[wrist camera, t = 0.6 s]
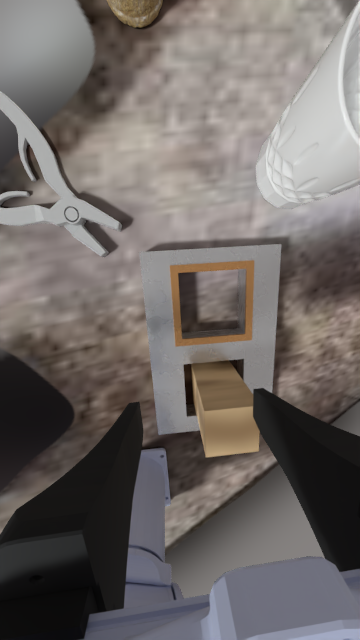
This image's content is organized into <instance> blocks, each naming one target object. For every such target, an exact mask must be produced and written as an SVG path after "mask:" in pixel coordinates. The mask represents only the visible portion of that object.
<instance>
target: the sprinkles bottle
mask: <svg viewBox="0 0 360 640" xmlns="http://www.w3.org/2000/svg"><path fill="white" fill-rule="evenodd" d="M107 2H108V5H109V6H110V7H111V9H112V11H113V12H114V14H115V15H116V16H117V17H118V19H119V20H120V21H122V22H123V23H124V24H127V25H129V26H132V27H134V28H136V27H140V28H141V27H144V26H147V25H149V24H150V23H151V22H152V21H153V20H154V19H155V18H156V17H157V15H158V13H159V10H160V9H161V6H162V2H163V0H107Z"/></svg>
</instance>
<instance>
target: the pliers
mask: <svg viewBox="0 0 360 640" xmlns="http://www.w3.org/2000/svg"><path fill="white" fill-rule="evenodd" d="M0 109H1V110H2V111H3V112H4V113H5V114H6V115H7V116H8V118H9V119H10V120H11V121H12V122H13V123H14V124H15V126H16V127H17V132H18V141H19V142H18V146H19V152H20V157H21V161H22V163H23V165H24V167H25V169H26V171H27V173H28V175H29V177H30V178H31V180H32V181H33V182H36V181H37V180H36V178H35V177H34V175H33V173H32V171H31V169H30V166H29V164H28V160H27V154H26V148H27V143H29V144H30V146H31V147H32V149H33V151H34V154H35V156H36V158H37V161H38V163H39V166H40V168H41V171H42V174H43V176H44V179H45V181H46V182H47V183H48V184H49V185H50V186H51V187H52V188H53V190H54V191H55V192H56V193H57V194H58V195H59V196H60V197H61V199H60V200H59V201H58V202H57V203H56V204H55V205H53V206H52V207H51V208H50V209H47V208H44V207H42V206H38V205H30V206H23V207H15V208H0V224H5V225H11V226H27V225H32V224H37V223H48V224H54V225H57V226H60V227H61V226H64V227H65V228H66V229H67V230H68V231H69V232H70V233H71V234H72V236H73V237H75V238H76V239H77V240H79V241H80V242H82V243H83V244H84V245H86V246H87V247H89V248H90V249H91V250H93V251H94V252H96V253H97V254H98V255H100V256H102V257H105V256H106V255H107V254H108V253H109V252H108V251H107V250H106V249H105V248H104V247H103V246H102V245H101V244H100V243H99V242H98V241H97V240H96V238H95V237H94V236H93V235H92V234H91V233H90V232H89V231H88V230H87V229H86V227H85V225H84V224H85V223H86V220H87V221H92V222H95V223H97V224H100V225H103V226H106V227H109V228H112V229H114V230H117V231H120V232H121V228H122V224H121V223H120V222H118V221H117V220H115V219H113V218H112V217H110V216H108V215H107V214H105V213H103V212H102V211H100V210H99V209H97V208H95V207H94V206H92V205H90V204H89V203H87V202H85V201H83V200H81V199H78V198H77V197H76V196H75V195H74V194H73V193H72V191H71V190H70V189H69V188H68V186H67V184H66V182H65V180H64V179H63V177H62V175H61V172H60V169H59V166H58V162H57V159H56V157H55V155H54V153H53V151H52V149H51V147H50V145H49V144H48V142H47V141H46V139H45V138H44V136H43V135H42V133H41V132H40V131H39V129H38V128H37V127H36V125H35V124H34V123H33V122H32V121H31V120H30V119H29V117H28V116H27V115H26V114H25V113H24V112H23V111H22V110H21V109H20V108H19V107H18V106H17V105H16V104H15V103H14V102H13V101H12V100H11V99H10V98H9V97H7V96H6V95H5V94H4V93H2V92H1V91H0ZM18 196H30V193H28V192H24V191H13V192H6V193H3V194H1V195H0V206H1V204H2V203H3V202H4V201H5V200H7V199H10V198H12V197H18Z"/></svg>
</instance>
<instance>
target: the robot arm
mask: <svg viewBox="0 0 360 640" xmlns="http://www.w3.org/2000/svg"><path fill="white" fill-rule="evenodd" d="M253 418H254V420H255V422H256V425H257V427H258V429H259V431H260V433H261V435H262V436H263V438H264V440H265V441H266V443H267V445H268V446H269V448H270V450H271V451H272V453H273V454H274V456H275V458H276V459H277V461H278V463H279V464H280V466H281V467H282V469H283V471H284V473H285V474H286V476H287V478H288V480H289V482H290V484H291V486H292V488H293V490H294V492H295V494H296V496H297V498H298V500H299V502H300V504H301V506H302V508H303V510H304V512H305V515H306V517H307V519H308V521H309V523H310V525H311V528H312V530H313V532H314V534H315V536H316V539H317V541H318V543H319V545H320V547H321V549H322V552H323V554H324V556H325V559H324V558H323V557H311V556H309V557H308V556H307V557H302V558H295V559H289V560H283V561H277V562H271V563H264V564H259V565H252V566H246V567H240V568H237V569H234V570H231V571H228V572H225V573H224V574H223V575H222V576H221V577H219V578H218V579H217V580H216V581H215V582H214V584H213V587H212V590H211V593H210V594H207V595H201V596H195V597H190V598H183V595H182V592H181V589H180V588H179V586H178V584H177V583H171V565H170V564H166V563H165V506H169V505H170V504H171V499H170V488H169V478H168V468H167V458H166V450H165V449H164V448H155V449H147V450H142V441H143V424H142V417H141V411H140V404H139V402H134V403H129V404H128V405H127V407H126V408H125V409H124V411H123V412H122V414H121V415H120V417H119V418H118V419H117V421H116V422H115V423H114V425H113V426H112V427H111V428H110V430H109V431H108V432H107V433H106V435H105V436H104V437H103V438H102V439H101V440H100V442H99V443H98V444H97V445H96V446H95V447H94V448H93V449H92V450H91V451H90V452H89V453H88V454H87V455H86V456H85V457H84V458H83V459H82V460H81V461H80V462H79V463H78V464H76V465H75V466H74V467H73V468H72V469H71V470H70V471H69V472H67V473H66V474H65V475H64V476H62V477H61V478H60V479H59V480H57V481H56V482H55V483H54V484H52V485H51V486H50V487H48V488H47V489H46V490H44V491H43V492H41V493H40V494H39V495H37V496H36V497H34V498H33V499H31V500H30V501H28V502H27V503H25V504H24V505H23V506H21V507H19V508H18V509H17V510H16V511H15V513H14V514H13V515H12V517H11V518H10V520H9V521H8V523H7V524H6V526H5V528H4V529H3V531H2V533H1V534H0V640H360V436H357V435H354V434H351V433H349V432H346V431H344V430H341V429H339V428H336V427H334V426H332V425H330V424H327V423H325V422H323V421H321V420H319V419H317V418H315V417H313V416H311V415H309V414H307V413H305V412H303V411H301V410H299V409H298V408H296V407H294V406H292V405H291V404H289V403H287V402H286V401H284V400H282V399H281V398H279V397H277V396H276V395H274V394H272V393H271V392H269V391H267V390H266V389H264V388H258V389H253Z"/></svg>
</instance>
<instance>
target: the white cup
mask: <svg viewBox="0 0 360 640" xmlns="http://www.w3.org/2000/svg"><path fill="white" fill-rule="evenodd" d="M256 181H257V186H258V188H259V190H260V192H261V194H262V195H263V197H264V199H265V200H266V201H268V202H269V203H271V204H272V205H274V206H275V207H276V208H285V209H293V208H296V207H298V206H301V205H303V204H305V203H308V202H311V201H315V200H320V199H322V198H326V197H329V196H331V195H335V194H337V193H340V192H342V191H345V190H347V189H350V188H353V187H355V186H358V185H360V0H359V1H358V2H357V4H356V5H355V7H354V8H353V10H352V11H351V13H350V14H349V16H348V17H347V19H346V20H345V22H344V23H343V25H342V26H341V28H340V29H339V31H338V32H337V34H336V35H335V37H334V38H333V39H332V41H331V42H330V44H329V45H328V47H327V48H326V50H325V51H324V53H323V54H322V56H321V57H320V59H319V60H318V62H317V63H316V64H315V66H314V67H313V69H312V70H311V72H310V73H309V75H308V76H307V78H306V79H305V81H304V82H303V84H302V85H301V86H300V88H299V89H298V91H297V92H296V94H295V95H294V97H293V99H292V101H291V102H290V104H289V105H288V107H287V108H286V110H285V111H284V113H283V114H282V116H281V117H280V119H279V121H278V123H277V125H276V127H275V128H274V130H273V131H272V133H271V134H270V136H269V137H268V138H267V140H266V141H265V143H264V144H263V146H262V147H261V150H260V153H259V156H258V160H257V163H256Z"/></svg>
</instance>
